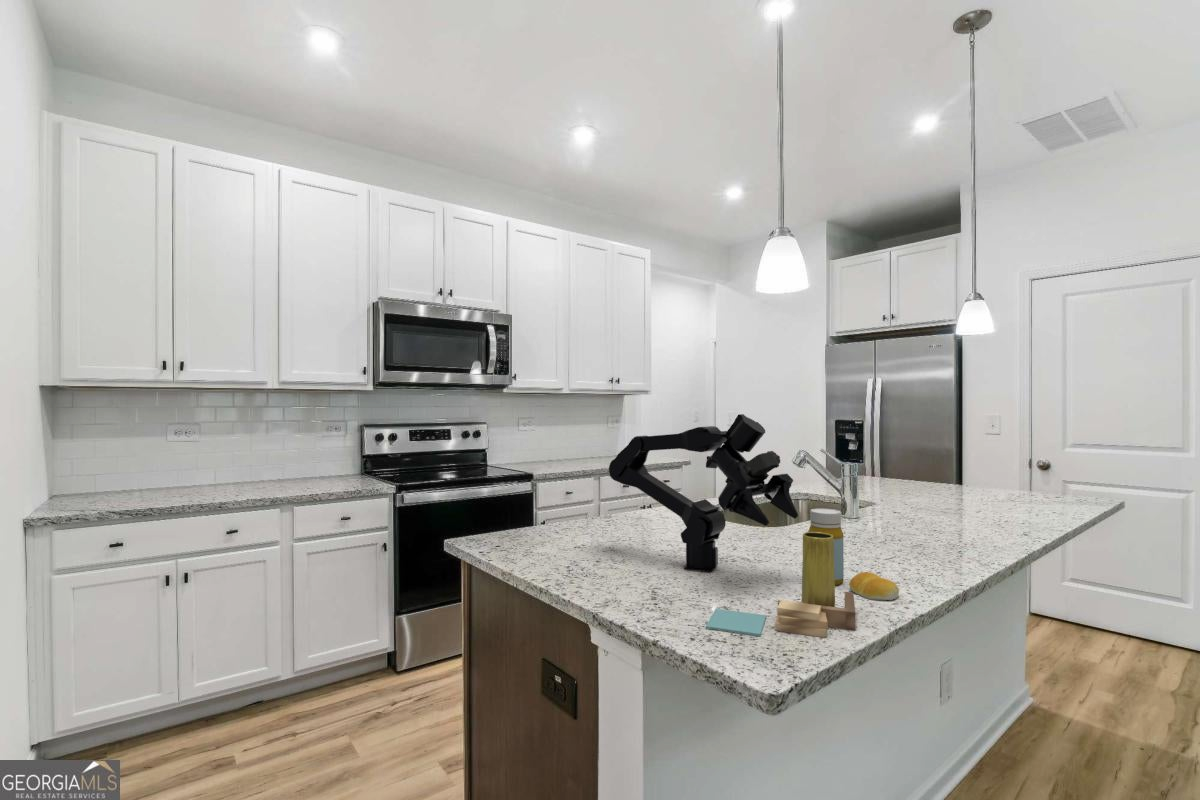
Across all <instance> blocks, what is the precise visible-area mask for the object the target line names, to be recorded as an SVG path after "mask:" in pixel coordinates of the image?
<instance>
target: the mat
mask: <svg viewBox="0 0 1200 800" xmlns="http://www.w3.org/2000/svg"><path fill="white" fill-rule="evenodd" d="M766 620H767V614H761V613H760V614H759V613H752V612H745V611H744V612H743V611H736V610H731V609H721V608H715V610H714V611H713V613H712V614H711V616H710V618H709V620H708V622H707V623H706V625H705V629H706V628H710V629H709V630H712V629H718V630H717V631H719V630H723V631H722V632H726V631H729V632H728V633H733V632H735V633H734V634H740V633H741V634H742V635H747V636H755V637H761V635H762V633H763V629H764V627H765V624H766ZM741 634H740V635H741Z"/></svg>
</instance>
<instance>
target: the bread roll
mask: <svg viewBox="0 0 1200 800" xmlns="http://www.w3.org/2000/svg"><path fill="white" fill-rule="evenodd" d="M849 588H850V590H851V592H853V594H856V595H859V596H862V598H866V599H868V600H874V601H886V600H889V601H893V599H894V600H896V599H897V598H898V597H899V593H900V592H899V591H900V590H899V587H898V585H897V584H896V583H895V582H894V581H892V580H890V579H887V578H883V577H881V576H880V575H878V574H875V573H874V572H870V571H869V572H868V571H866V572H865V571H864V572H858V573H857V574H856V575H854V576H852V578H851V579H850V580H849Z"/></svg>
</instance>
